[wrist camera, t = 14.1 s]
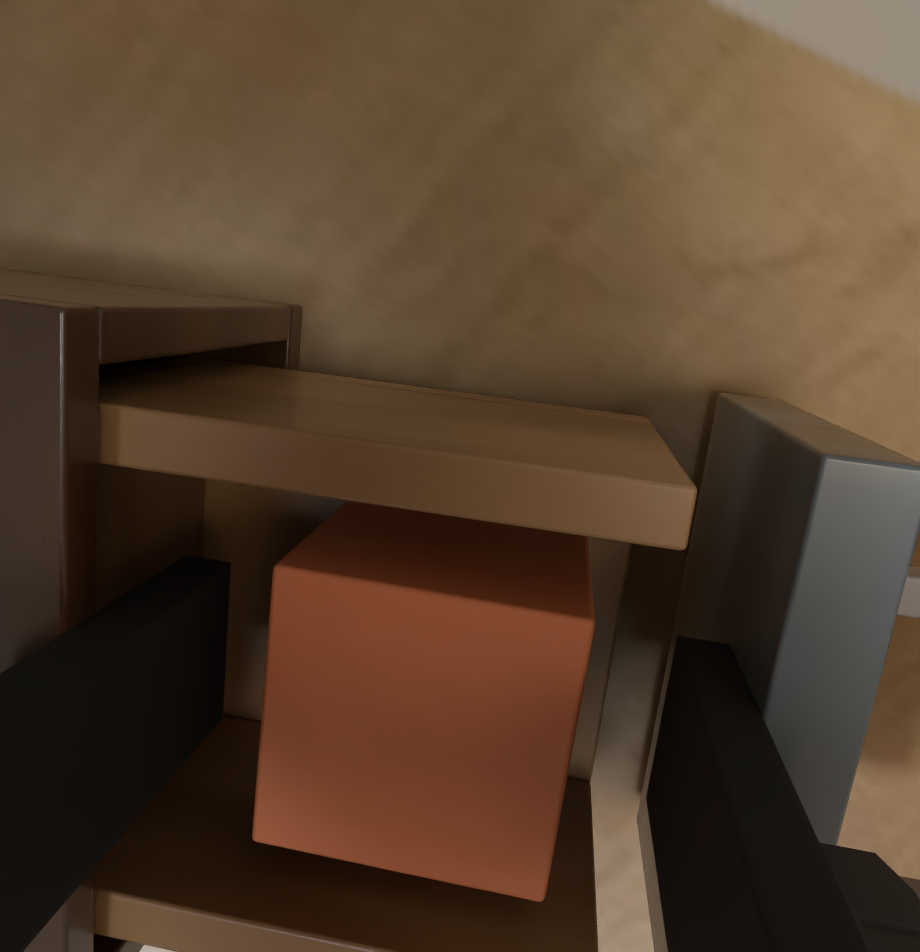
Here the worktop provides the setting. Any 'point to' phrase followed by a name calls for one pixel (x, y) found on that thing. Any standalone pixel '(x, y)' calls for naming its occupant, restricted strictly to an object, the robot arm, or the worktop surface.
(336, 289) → the worktop surface
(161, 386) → the drawer
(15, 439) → the cabinet
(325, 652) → the block
